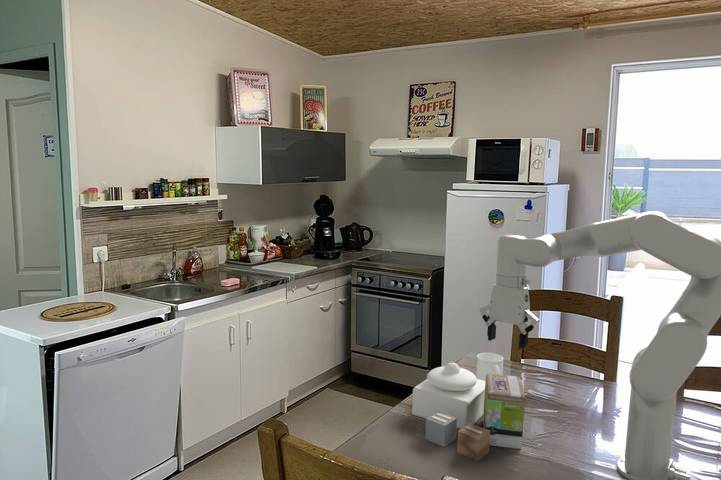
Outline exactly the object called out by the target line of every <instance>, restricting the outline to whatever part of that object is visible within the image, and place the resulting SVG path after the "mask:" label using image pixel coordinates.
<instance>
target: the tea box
mask: <svg viewBox="0 0 721 480" xmlns="http://www.w3.org/2000/svg"><path fill="white" fill-rule="evenodd" d="M521 379H522V378H521V376H515V375H505V374H503V375H496V374H486V382H485V397H484V414H483V415H482V416H483V417H482V418H483V420H482V421H483V422H482V423H483V428H485V429H488V430H490V446H494V447H500V448H501V447H502V448H508V449H509V448H510V449H517V450H519V449H522V447H523V436H524V435H523V434H524V433H523V432H524V422H525V421H524V420H525V410H526V409H525V408H526V395H525V394H526V393H525V391H524V386H523V382H522V380H521Z"/></svg>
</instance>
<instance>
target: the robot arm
mask: <svg viewBox="0 0 721 480" xmlns="http://www.w3.org/2000/svg"><path fill="white" fill-rule="evenodd" d="M637 251H643V252H645V253H646V254H648V255H650V256H652V257H654V258H655V259H658V260H659V261H662V262H663V263H665V264H667V265H669V266H671V267H672V268H675V269H677V270H678V271H680V272H681V273H685V274H687V275H688V276H690V281H689V282H688V284H687V286H686V287H685V289H684V290H683V292H682V294H681V295H680V297H679V298H678V300H677V301H675V304H674V306H672V308H671V309H670V310H669V312H668V313H667V315H665V317H664V318H663V319H662V320H661V322H660V323H659V325H658V327H657V332H656V333H655V335H654V337H653V338H652V340H651V341H649V344H648V346H646V347H644V348H642V349H641V350H640V351H638V352H637V353H636V354H635V356H634V358H633V359H632V360H633V361H632V364H631V367H630V371H629V377H628V378H629V383H630V393H629V394H630V397H629V404H628V405H629V406H628V407H629V408H628V415H627V417H628V418H627V428H626V438H625V451H624V456H621V457H620V458H619V459H618V460H617V463H616V468H617V470H618V472H619V473H620V475H622V476H623V477H625V478H626V479H627V480H691V475H689V474H687V470H686V469H683V468H679V467H676V465H674V459H673V458H671V451H672V441H673V432H674V424H675V423H674V422H675V416H676V415H675V414H676V406H677V405H676V403H677V395H678V394H677V393H678V391H679V390H680V388H681V387H682V385H683V384H684V383H685V382H686V380H687V379H688V377H689V376H690V375H691V373H692V372H693V371H694V370H695V368H696V367H697V365H698V364H699V363H700V362H701V360H702V358H703V357H704V355H705V352H706V351H707V348H708V335H709V333H710V331H712V328H714V326H715V324H716V323H717V321H718V320H719V319H720V317H721V240H720V239H718V238H716V237H715V236H712V235H710V234H709V235H707V234H703V235H702V234H699V233H696V232H694V231H692V230H691V229H688V228H686V227H685V226H682V225H681V224H679V223H676V222H674V221H672V219H671V218H670V216H668V215H667V214H665V213H664V212H661V211H658V210H650V211H646V212H645V211H644V212H640V213H639V212H638V213H635V214H631V215H626V216H621V217H618V218H617V217H616V218H613V219H608V220H604V221H598V222H593V223H589V224H587V225H584V226H579V227H575V228H572V229H567V230H562V231H558V232H553V233H547V234H543V235H540V236H537V237H535V238H534V237H533V238H526V237H525V236H523V235H517V234H516V235H515V234H504V235H501V236H500V237H498V242H497V255H496V256H497V257H496V272H495V273H496V276H495V278H496V279H495V283H494V284H493V287H492V289H491V294H490V298H489V304H487V305H485V306H482V307H479V312H480V314H481V316H482V320H483V321H484V323H485V325H486V326H487V330H486V331H487V334H486V335H487V340H488V342H489V341H490V342H491V341H493V340H496V336H497V325H496V324H495V323H496V322H500V323H501V322H502V323H505V324H510V325H515V326H517V327H518V329H519V331H520V332H521V333H519V339H518V341H519V342H518V348H519V349H523V348H525V347H527V346H528V343H529V333H530V332H532V331H533V330H535V328H536V327H537V326H538V324H539V323H540V318H538V317H537V316H536V315H534V314H533V313H532V312H531V307H530V305H531V304H530V303H531V302H530V292H529V287H527V285H528V286H529V285H530V283H531V280H530V279H527V276H526V274H527V273H526V271H527V266H530V267H534V268H544V267H547V266H549V265H550V264H552V263H554V262H558V261H563V260H568V259H572V258H573V259H574V258H579V257H595V258H603V257H604V258H605V257H609V256H611V257H612V256H614V255H622V254H626V253H631V252H632V253H633V252H637ZM529 321H530V322H531V323H530V324H529V325H528V323H529Z"/></svg>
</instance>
